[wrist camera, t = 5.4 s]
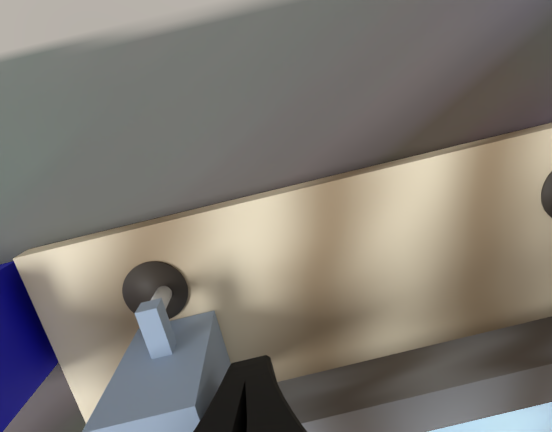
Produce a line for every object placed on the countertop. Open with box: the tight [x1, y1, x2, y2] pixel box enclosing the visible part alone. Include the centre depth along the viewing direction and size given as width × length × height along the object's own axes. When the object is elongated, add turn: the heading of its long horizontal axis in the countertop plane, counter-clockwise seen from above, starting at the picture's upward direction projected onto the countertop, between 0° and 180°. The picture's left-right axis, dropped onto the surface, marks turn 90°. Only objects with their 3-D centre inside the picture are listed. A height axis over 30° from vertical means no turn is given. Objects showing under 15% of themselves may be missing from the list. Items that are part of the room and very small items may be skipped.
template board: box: [13, 123, 552, 432], centre depth 13 cm, size 22×10×6 cm, turn 103°
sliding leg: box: [82, 286, 231, 432], centre depth 12 cm, size 3×5×5 cm, turn 13°
